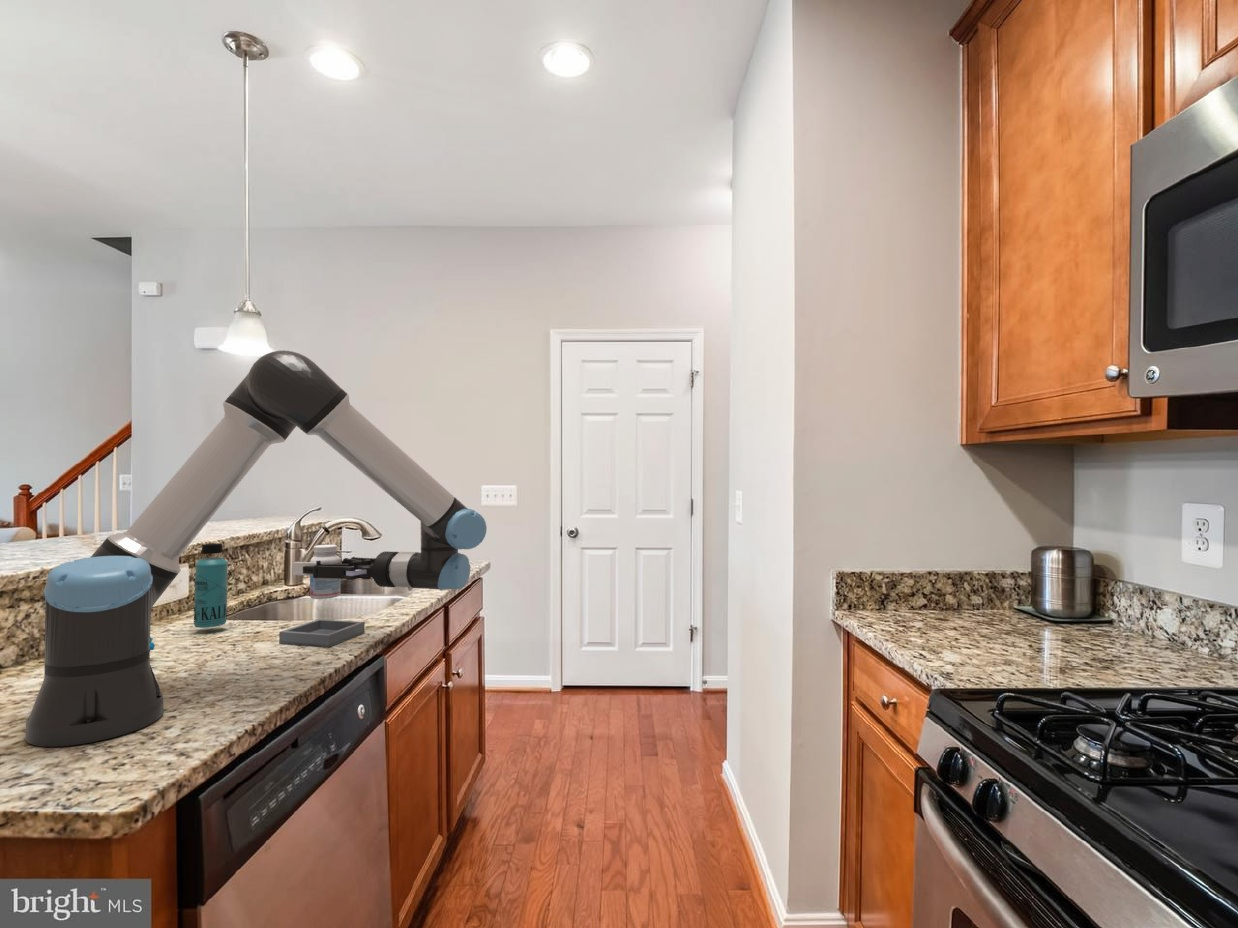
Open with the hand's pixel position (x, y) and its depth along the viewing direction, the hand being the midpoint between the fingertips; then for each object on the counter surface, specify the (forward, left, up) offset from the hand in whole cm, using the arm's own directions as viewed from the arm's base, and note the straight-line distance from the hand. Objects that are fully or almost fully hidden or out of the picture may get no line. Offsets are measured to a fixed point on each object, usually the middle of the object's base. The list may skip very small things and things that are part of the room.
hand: (305, 565), depth 138 cm
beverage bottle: (-1, +24, -16) cm, 29 cm away
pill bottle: (0, -5, -7) cm, 9 cm away
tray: (0, -5, -16) cm, 16 cm away
